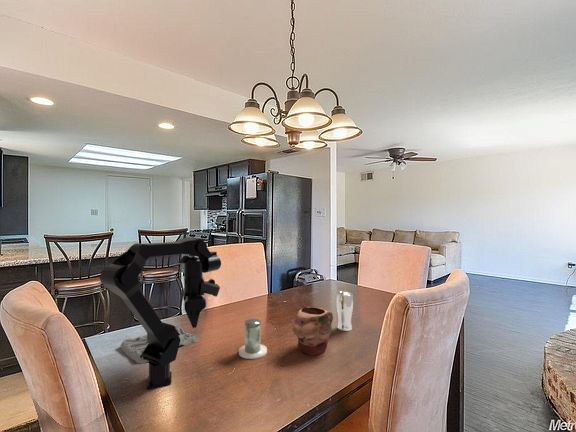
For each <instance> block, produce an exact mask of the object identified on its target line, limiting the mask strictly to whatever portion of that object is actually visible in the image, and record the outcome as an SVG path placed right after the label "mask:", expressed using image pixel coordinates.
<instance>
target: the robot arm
mask: <svg viewBox="0 0 576 432" xmlns="http://www.w3.org/2000/svg"><path fill="white" fill-rule="evenodd" d="M217 253H218V252H217V251H210V249H209V248H208V246H207V244H206V242H205V240H204V239H203V238H201V237H184V238H180V239H178V240H176V241H166V242H164V241H163V242H152V243H151V242H149V243H139V242H137V243H134V244H132V245H131V246H129V248H128V249H127V250H125V252H123V253H122V254H121V255H119V256H117V257H116V258H115V259H113V261H112V262H111V263H110V264H108V265H106V266H104V267H103V269H102V270H101V272H100V276H99V280H100V283H101V284H102V285H103V286H105V288H107V289H108V290H109V291H111V292H112V293H113V294H115V295H117V296H118V297H120V298H121V299H122V301H123V302H124V303H125V305H126V306H127V307H128V308H129V311H131V313H132V314H133V315H134V317H135V318H136V320H137V322H138V323H139V324H140V325H141V326H142V328H143V329H144V331H145V332H146V335H147V341H148V345H147V346H146V348H145V349H144V351H143V352H142V354H141V358H142V357H143V360H147V361H148V376H147V381H146V387H145V389H147V390H149V389H153V388H159V387H160V388H161V387H163V386H164V387H165V386H169V385H171V384H172V371H171V363H172V362H174V361H176V359H177V355H178V352H179V349H180V348H179V347H180V346H179V344H180V337H179V335H180V334H179V333H178V332H177V330H176V328H175V326H176V325H174V324H170V323H166V322H162V320H161V318H160V317H159V316H158V314H157V313H156V311H155V309H154V308H153V307H152V305H151V304H150V302H149V301H148V299H147V298H146V296H145V295H144V294H143V292H142V291H141V289H140V287H141V284H140V281H141V280H140V277H139V275H140V274H141V273H142V272H143V270H144V267H145V265H146V262H147V260H148V259H149V258H154V257H163V256H174V255H183V256H182V257H181V258H180V259H179V260H178V264H183V265H184V267H183V268H184V270H183V271H184V272H183V275H184V277H183V283H184V284H183V287H184V288H182V299H183V305H184V307H183V309H184V311H185V314H186V316H187V319H188V320H189V323H190V325H191V326H192V328H193V329H195V328H197V326H198V322H199V318H200V314H201V312H202V311H204V310H205V309H206V308H207V301H206V298H205V297H204V296H205V294H207V295H210V296H211V295H212V296H213V297H214V298H215V297H218V295H219V292H220V289H221V286H220V285H219V284H218V283H216V281H215V279H212V278H209V279H208V281H207V280H204V277H203V273H204V274H205V273H211V272H214V271H219V269H220V268H221V265H222V261H221V259H220V258H221V257H220V256H218V255H217ZM189 255H190V256H189Z"/></svg>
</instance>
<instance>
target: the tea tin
mask: <svg viewBox="0 0 576 432" xmlns="http://www.w3.org/2000/svg"><path fill="white" fill-rule="evenodd" d="M261 321H262V320H261V319H257V318H249V319H246V320H245V321H244V345H245V352H246V353H250V354H254V353H258V352H259V351H260V344H261V325H262V322H261Z"/></svg>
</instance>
